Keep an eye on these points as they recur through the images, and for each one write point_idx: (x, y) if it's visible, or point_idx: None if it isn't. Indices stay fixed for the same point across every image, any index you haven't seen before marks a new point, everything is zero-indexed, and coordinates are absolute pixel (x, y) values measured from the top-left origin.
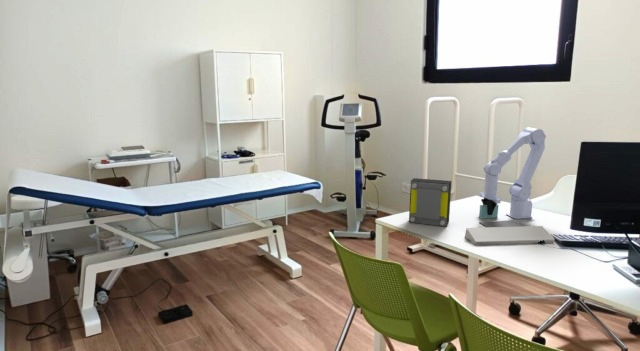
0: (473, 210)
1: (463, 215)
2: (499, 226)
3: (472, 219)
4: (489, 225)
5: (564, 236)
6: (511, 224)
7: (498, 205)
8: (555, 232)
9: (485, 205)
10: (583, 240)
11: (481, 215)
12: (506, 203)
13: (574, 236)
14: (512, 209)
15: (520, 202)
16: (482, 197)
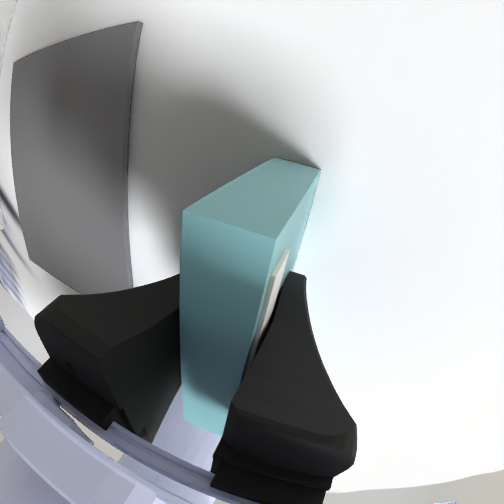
0: (500, 331)
1: (467, 66)
2: (44, 127)
3: (276, 24)
4: (65, 69)
5: (10, 278)
6: (65, 235)
7: (186, 416)
8: (28, 295)
9: (204, 310)
10: (2, 284)
11: (261, 165)
12: (393, 487)
13: (16, 299)
14: (181, 423)
15: (121, 457)
16: (82, 445)
